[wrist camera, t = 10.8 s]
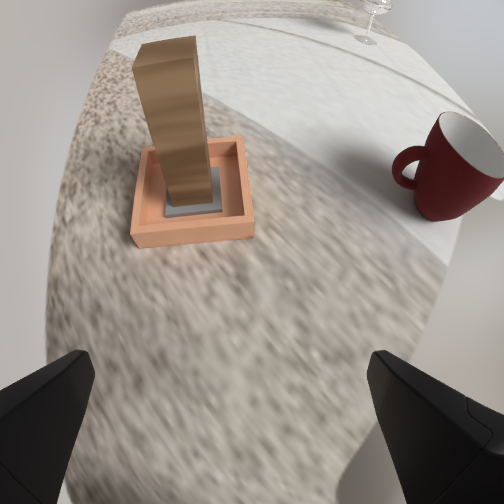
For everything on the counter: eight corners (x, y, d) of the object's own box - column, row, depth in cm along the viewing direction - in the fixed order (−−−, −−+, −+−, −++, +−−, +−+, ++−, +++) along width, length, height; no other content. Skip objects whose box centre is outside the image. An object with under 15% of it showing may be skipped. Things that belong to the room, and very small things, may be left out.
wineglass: (348, 39, 46) (358, -10, 36) (351, 30, 49) (361, -15, 38) (381, 50, 45) (394, 1, 35) (381, 40, 48) (393, -4, 37)
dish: (253, 237, 26) (254, 222, 24) (139, 248, 25) (130, 234, 23) (243, 153, 30) (243, 136, 28) (148, 163, 30) (142, 147, 27)
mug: (388, 240, 26) (440, 170, 17) (368, 173, 30) (400, 99, 21) (467, 238, 26) (521, 184, 17) (443, 179, 30) (482, 120, 21)
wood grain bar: (222, 212, 26) (207, 61, 13) (166, 218, 26) (116, 76, 13) (219, 169, 28) (207, 30, 15) (168, 175, 28) (133, 42, 15)
